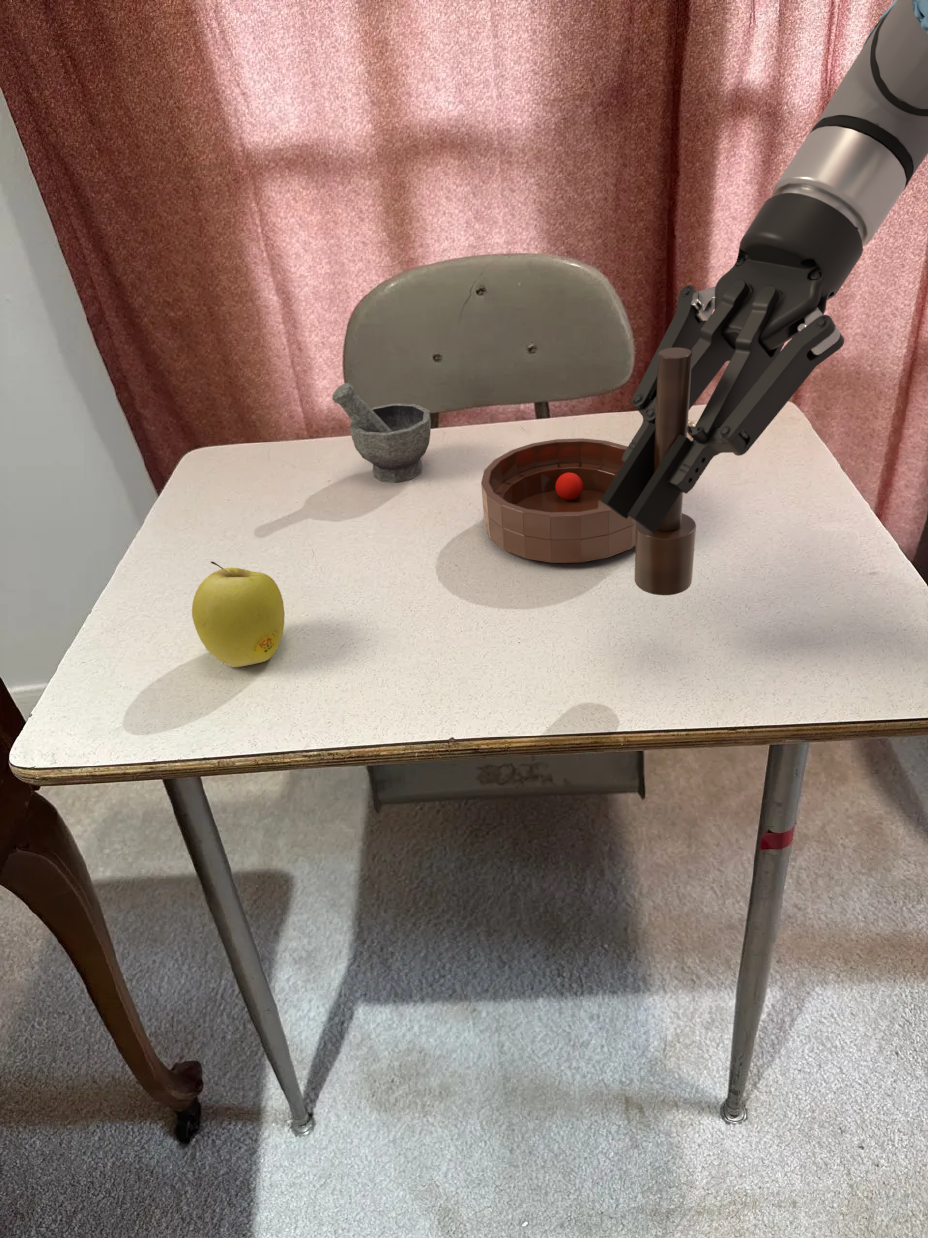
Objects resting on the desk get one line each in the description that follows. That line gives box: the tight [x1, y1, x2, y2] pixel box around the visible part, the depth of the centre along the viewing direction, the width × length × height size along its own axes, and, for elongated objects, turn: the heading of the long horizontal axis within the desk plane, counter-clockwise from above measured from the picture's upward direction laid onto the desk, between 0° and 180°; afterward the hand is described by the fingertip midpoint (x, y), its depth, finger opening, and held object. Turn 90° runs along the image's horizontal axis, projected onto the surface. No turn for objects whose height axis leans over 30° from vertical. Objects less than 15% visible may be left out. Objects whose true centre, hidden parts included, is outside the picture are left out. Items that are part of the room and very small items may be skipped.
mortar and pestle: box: [331, 382, 432, 483], centre depth 100 cm, size 11×9×12 cm
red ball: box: [555, 473, 583, 500], centre depth 91 cm, size 3×3×3 cm
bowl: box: [480, 437, 637, 564], centre depth 87 cm, size 18×18×6 cm
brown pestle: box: [634, 348, 697, 596], centre depth 61 cm, size 4×4×18 cm
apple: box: [191, 561, 286, 668], centre depth 73 cm, size 8×8×10 cm
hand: (627, 516), depth 60 cm, fingers closed on brown pestle, 2 cm apart
